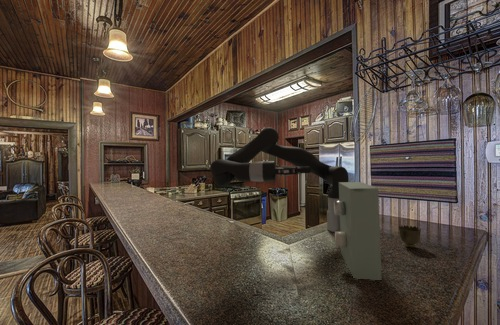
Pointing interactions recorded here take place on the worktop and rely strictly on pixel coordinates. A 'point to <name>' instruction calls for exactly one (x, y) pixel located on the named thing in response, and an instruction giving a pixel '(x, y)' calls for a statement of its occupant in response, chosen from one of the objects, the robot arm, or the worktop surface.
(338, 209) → the upper knob
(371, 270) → the block
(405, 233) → the cup
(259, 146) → the robot arm
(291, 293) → the worktop surface
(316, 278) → the worktop surface
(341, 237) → the lower knob
